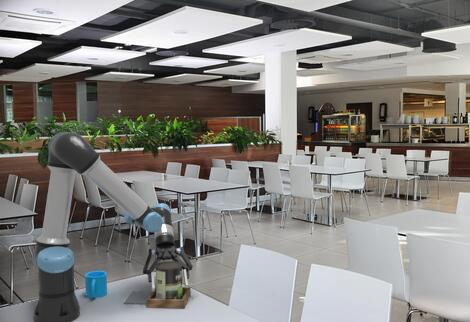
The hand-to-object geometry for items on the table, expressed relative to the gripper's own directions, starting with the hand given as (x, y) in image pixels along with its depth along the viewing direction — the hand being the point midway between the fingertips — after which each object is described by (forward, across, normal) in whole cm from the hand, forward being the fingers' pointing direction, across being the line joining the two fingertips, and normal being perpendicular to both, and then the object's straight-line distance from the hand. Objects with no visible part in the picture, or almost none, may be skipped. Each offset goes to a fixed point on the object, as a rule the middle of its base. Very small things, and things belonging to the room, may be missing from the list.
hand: (170, 288), depth 171 cm
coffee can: (+2, 0, -6) cm, 7 cm away
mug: (-7, +27, -16) cm, 32 cm away
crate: (+2, 0, -6) cm, 6 cm away
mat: (-2, +11, -10) cm, 15 cm away
